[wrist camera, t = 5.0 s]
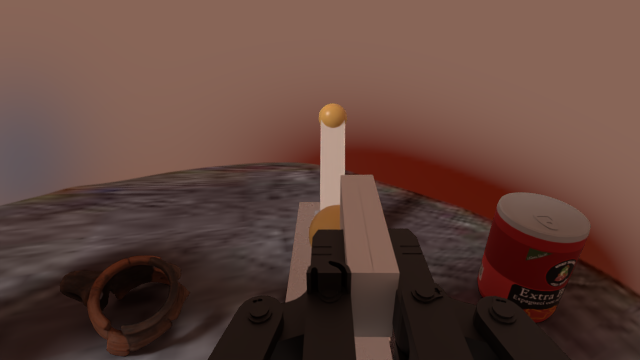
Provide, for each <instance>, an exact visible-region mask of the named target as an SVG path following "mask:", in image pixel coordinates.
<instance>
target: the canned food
mask: <svg viewBox="0 0 640 360" xmlns="http://www.w3.org/2000/svg"><path fill="white" fill-rule="evenodd" d="M590 227H591V226H590V222H589V220H588V219H587V218H586V216H585V215H583V213H581V212H580V211H578V210H577V209H575V208H574V207H572V206H570V205H568V204H566V203H564V202H562V201H559V200H557V199H554V198H551V197H548V196H544V195H540V194H534V193H510V194H507V195H505V196H503V197H502V198H501V199H500V200H499V203H498V205H497V208H496V212H495V215H494V218H493V222H492V226H491V229H490V233H489V237H488V241H487V244H486V248H485V252H484V255H483V259H482V263H481V266H480V270H479V274H478V278H477V280H478V288H479V292H480V294H481V296H482V297H486V296H498V297H502V298H506V299H508V300H510V301H512V302H514V303H515V304H517V305H518V306H519V307H520V308H522V309H523V310H524V311H525V312H526V313H527V314H528V316H529V317H530V318H531V319H532V320H533V321H534V322H535V323H538V322H542V321H544V320H546V319H547V318H548V317H550V316H551V315H552V314H553V313H554V311H555V310H556V307H557V305H558V303H559V301H560V299H561V296H562V294H563V292H564V290H565V287H566V285H567V283H568V281H569V278H570V276H571V274H572V272H573V270H574V267H575V265H576V263H577V261H578V258H579V256H580V254H581V251H582V250H583V247H584V245H585V242H586V240H587V237H588V235H589V231H590Z"/></svg>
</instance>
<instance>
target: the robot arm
mask: <svg viewBox="0 0 640 360" xmlns="http://www.w3.org/2000/svg"><path fill="white" fill-rule="evenodd" d="M306 280H307V290H306V292H305V293H304V294H303V295H301V296H300V297H298V298H297V299H294V300H292V301H289V302H285V303H280V302H279V301H278V300H277V299H275V298H273V297H270V296H257V297H253V298H251V299H249V300H247V301H245V302H244V303H243V304H242V305H241V306H240V307H239V309H238V310H237V312H236V314H235V315H234V317H233V319H232V320H231V322H230V324H229V325H228V327H227V328H226V330H225V332H224V333H223V335H222V337H221V338H220V340H219V342H218V343H217V345H216V347H215V348H214V350H213V352H212V353H211V355H210V357H209V358H208V360H356V349H355V337H392V332H393V329H394V333H395V338H396V341H395V349H394V357H393V360H571V359H570V358H569V357H568V356H567V355H566V354H565V353H564V352H563V351H562V350H561V349H560V348H559V347H558V346H557V345H556V344H555V343H554V342H553V341H552V339H551V338H550V337H549V336H548V335H547V334H546V333H545V332H544V331H543V330H542V329H541V328H540V327H539V326H538V325H537V324H536V323H535V322H534V321H533V320H532V319H531V318H530V317H529V316H528V314H527V313H526V312H525V311H524V310H523V309H522V308H520V307H519V306H518V305H517V304H515V303H514V302H512V301H510V300H508V299H506V298H502V297H498V296H486V297H483V298H481V299H480V300H479V301H478V303H477V305H473V304H469V303H465V302H461V301H458V300H455V299H452V298H450V297H449V296H447V294H446V293H445V291H444V290H443V288H441V287H440V286H439V285H437V284H436V283H434V281H433V278H432V276H431V273H430V271H429V268H428V265H427V263H426V260H425V258H424V255H423V253H422V250H421V247H420V245H419V242H418V240H417V237H416V236H415V235H414V234H413V233H412V232H411V231H410V230H409V229H387V225H386V221H385V218H384V214H383V210H382V207H381V203H380V199H379V196H378V192H377V188H376V185H375V181H374V177H373V175H341V177H340V229H318V230H317V232H316V233H315V234H314V236H313V237H312V250H311V265H310V266H309V267H308V269H307V272H306Z"/></svg>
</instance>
